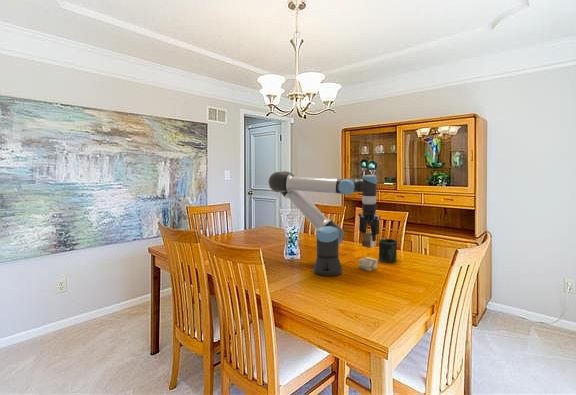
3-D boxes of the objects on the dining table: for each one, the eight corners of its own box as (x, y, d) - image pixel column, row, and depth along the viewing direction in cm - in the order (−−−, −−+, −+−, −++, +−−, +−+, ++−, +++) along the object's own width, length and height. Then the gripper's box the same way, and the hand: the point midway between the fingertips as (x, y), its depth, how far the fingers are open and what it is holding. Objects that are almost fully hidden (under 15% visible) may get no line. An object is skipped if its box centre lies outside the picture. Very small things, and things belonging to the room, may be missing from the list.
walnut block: (368, 247, 173) (368, 234, 173) (362, 245, 178) (362, 233, 177) (375, 246, 176) (375, 233, 175) (368, 244, 180) (368, 232, 180)
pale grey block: (369, 271, 173) (369, 262, 173) (359, 268, 179) (359, 259, 178) (377, 268, 177) (377, 259, 177) (367, 265, 183) (367, 257, 182)
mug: (375, 261, 190) (376, 241, 189) (382, 255, 203) (383, 236, 202) (394, 264, 185) (395, 243, 184) (400, 258, 197) (401, 238, 196)
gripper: (387, 204, 169) (386, 248, 171) (362, 201, 184) (361, 241, 186) (377, 205, 165) (376, 250, 167) (352, 202, 180) (352, 243, 183)
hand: (368, 245), depth 177 cm, fingers closed on walnut block, 5 cm apart
